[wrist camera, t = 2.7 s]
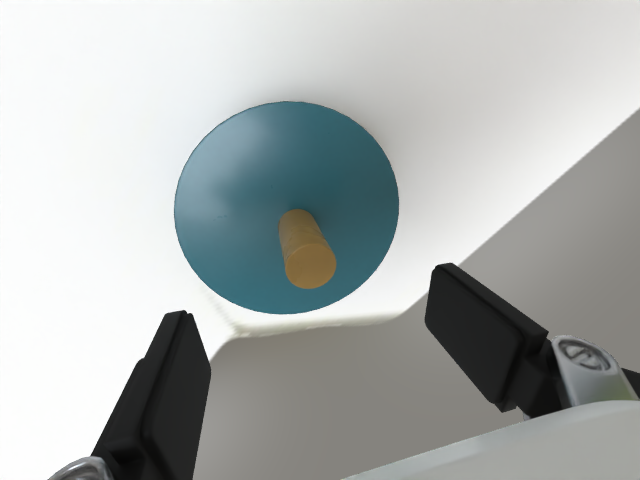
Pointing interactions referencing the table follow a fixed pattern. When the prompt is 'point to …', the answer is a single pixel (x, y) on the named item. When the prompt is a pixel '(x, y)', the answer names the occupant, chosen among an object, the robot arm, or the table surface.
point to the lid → (286, 207)
